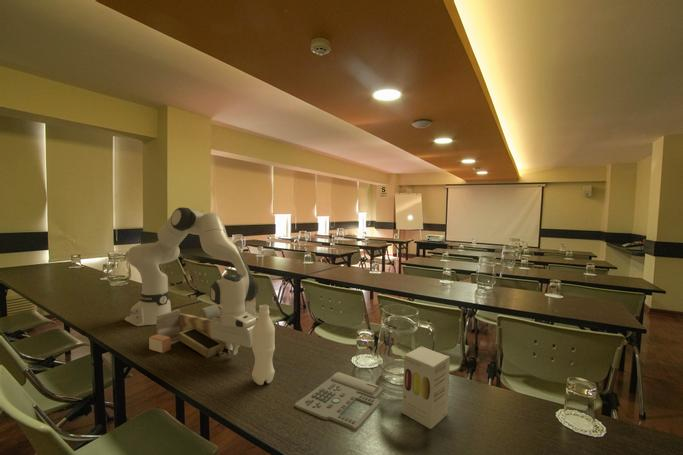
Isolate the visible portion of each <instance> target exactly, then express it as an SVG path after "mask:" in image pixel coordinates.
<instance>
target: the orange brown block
mask: <svg viewBox="0 0 683 455" xmlns="http://www.w3.org/2000/svg"><path fill="white" fill-rule="evenodd" d="M148 337H149V338H148V349H149V350H151V351H153V352H157V353H160V354H164V353H166V352H169V351H171V347H172V346H171V339H170V337H167V336H163V335H160V334H154V335H151V336H148Z"/></svg>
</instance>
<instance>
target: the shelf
mask: <svg viewBox="0 0 683 455" xmlns="http://www.w3.org/2000/svg"><path fill="white" fill-rule="evenodd" d="M211 323H212V320H211V319H207V318H202V317H199V316H197V315H192V314H188V313H182V312H181V309H174V310H173V311H172V310H171V312H168V313H165V314H162V315H158V316H156V324H155V325H156V326H155V327H156V329H155V330H156V334H160V335H163V336H167V337H170V339H171V345H174V344H176V343H178V342H181V341H180V340H179V335H178V333H180V332H182V331H185V330H188V329H191V328H194V327H196V328H198V329H200V330H202V331H203V332H205V333H207V334H208V335H210V330H211ZM156 334H155V335H156ZM219 341H220V340H219ZM221 342H222V343H224V344H225V345H224V349H225V350H228V348H227V346H226V342H224V341H221ZM232 346H233V343H232ZM234 347H235V346H233V348H234Z"/></svg>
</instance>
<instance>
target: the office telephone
mask: <svg viewBox="0 0 683 455" xmlns="http://www.w3.org/2000/svg"><path fill="white" fill-rule="evenodd" d="M383 391H384V388H383V387H382V386H380V385H377V384H375V383H372V382H369V381H366V380H363V379H360V378H358V377H354V376H352V375H349V374H346V373H343V372H340V371H337V372H335V373H334V374H333V375H332V376H330V377H329V378H328V379H326V381H324V382H323V383H321V384H319V386H317V387H316V388H314V390H312V391H311V392H309V393H308V394H307V395H305V396H304V397H302V398H300V399H299V400H297V401H296V402H295V403H294V407H295V408H296V409H298V410H301V411H303V412H306V413H308V414H310V415H313V416H315V417H318V418H319V419H322V420H324V421H325V420H326V421H327V420H330V421H333V422H335V423H338V424H340V425H343V426H345V427H347V428H350V429H351V430H353V431H358V430H359V429H360V428H361V427H362V426H363V425H364V423H365V422H366V421H367V420H368V419H369V418H370V417H371V416H372V414H373V413H374V412H375V411H376V409H377V408H379V407H380V404H381V400H378V399H377V398H378V397H379V396H380V395H381V394H382V392H383ZM355 401H359V402H362V403H365V404H367V405H370V407H369V408H368V409H367V410H366V411H365V412H364V414H363V415H362V416H361V417H360V418H359V419H358V420H354V419H353V418H349V417H346V416H344V415H343V414H344V413H345V411H347V409H348V408H349V407H351V406H352V404H354V403H355Z"/></svg>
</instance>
